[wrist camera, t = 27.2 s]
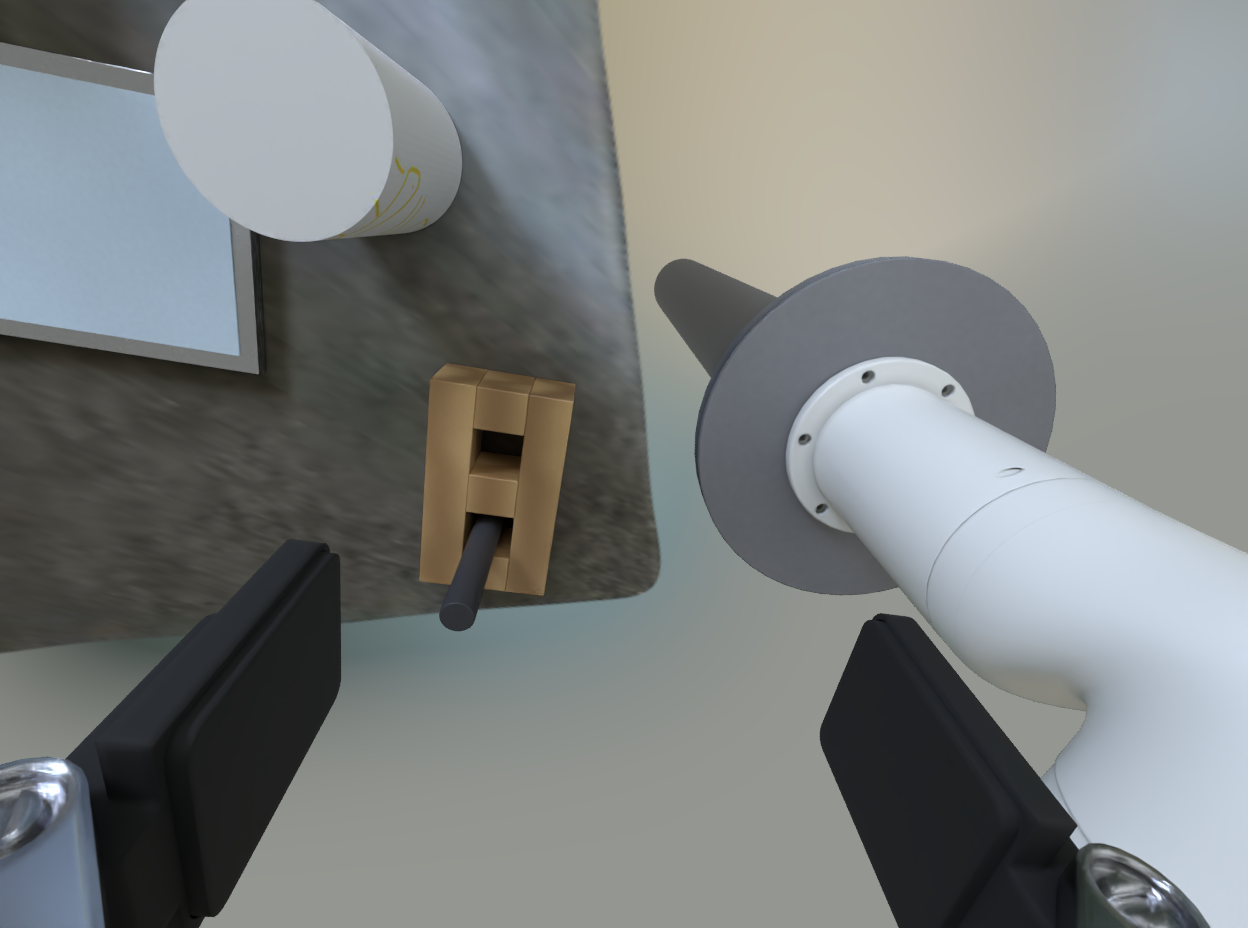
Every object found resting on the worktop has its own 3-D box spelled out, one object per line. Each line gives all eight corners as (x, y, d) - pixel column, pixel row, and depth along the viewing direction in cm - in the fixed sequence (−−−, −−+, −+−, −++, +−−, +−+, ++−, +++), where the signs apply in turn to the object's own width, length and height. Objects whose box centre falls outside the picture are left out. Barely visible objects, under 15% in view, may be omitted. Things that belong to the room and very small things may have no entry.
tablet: (250, 94, 30) (239, 90, 29) (266, 371, 36) (258, 375, 35) (-183, 5, 28) (-209, -2, 27) (-93, 314, 34) (-112, 317, 33)
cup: (337, 243, 33) (211, 255, 22) (287, 77, 30) (110, -3, 19) (477, 222, 33) (419, 225, 22) (441, 55, 30) (352, -39, 19)
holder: (575, 383, 37) (573, 401, 34) (548, 563, 43) (543, 596, 39) (446, 362, 36) (430, 378, 33) (434, 549, 42) (419, 581, 38)
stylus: (508, 499, 40) (476, 605, 29) (505, 521, 41) (473, 633, 30) (482, 495, 40) (439, 601, 29) (480, 518, 41) (437, 629, 30)
